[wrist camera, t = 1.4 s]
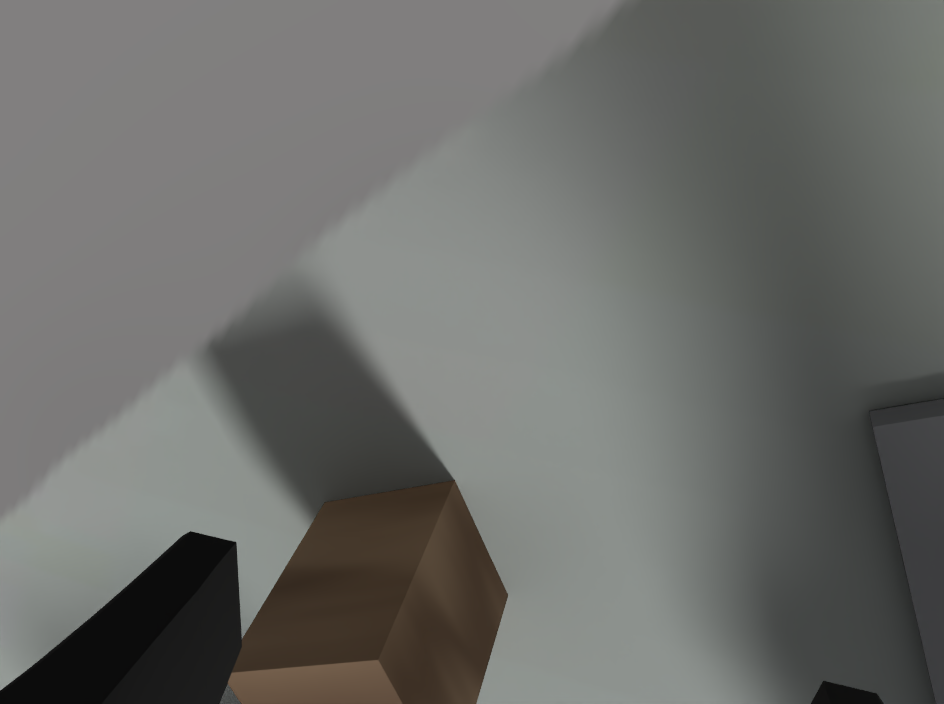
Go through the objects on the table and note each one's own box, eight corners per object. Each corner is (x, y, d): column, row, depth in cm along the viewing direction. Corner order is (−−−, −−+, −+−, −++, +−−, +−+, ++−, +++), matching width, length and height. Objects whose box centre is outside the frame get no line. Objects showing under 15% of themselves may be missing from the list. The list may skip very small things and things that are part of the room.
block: (508, 594, 25) (451, 789, 20) (383, 608, 26) (300, 792, 21) (454, 479, 23) (378, 659, 18) (325, 501, 25) (221, 673, 20)
